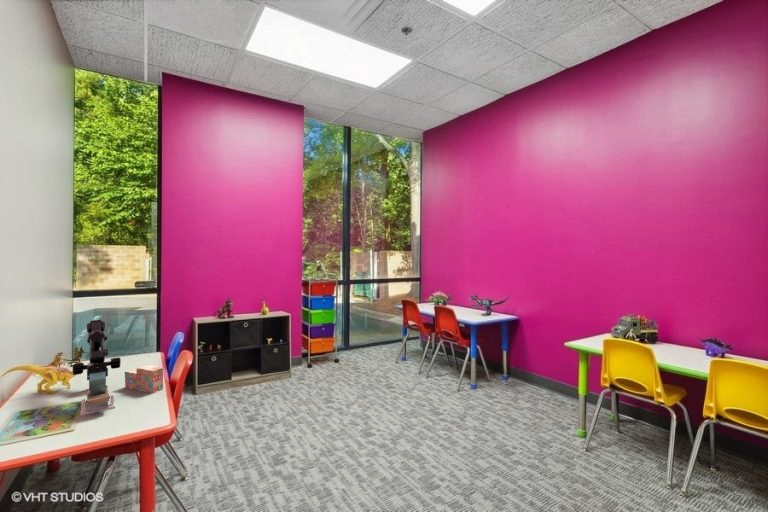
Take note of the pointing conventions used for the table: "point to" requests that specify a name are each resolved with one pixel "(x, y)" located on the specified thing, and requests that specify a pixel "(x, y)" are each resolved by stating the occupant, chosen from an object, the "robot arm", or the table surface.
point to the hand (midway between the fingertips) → (97, 380)
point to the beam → (97, 401)
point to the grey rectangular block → (97, 383)
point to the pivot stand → (86, 411)
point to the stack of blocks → (145, 378)
